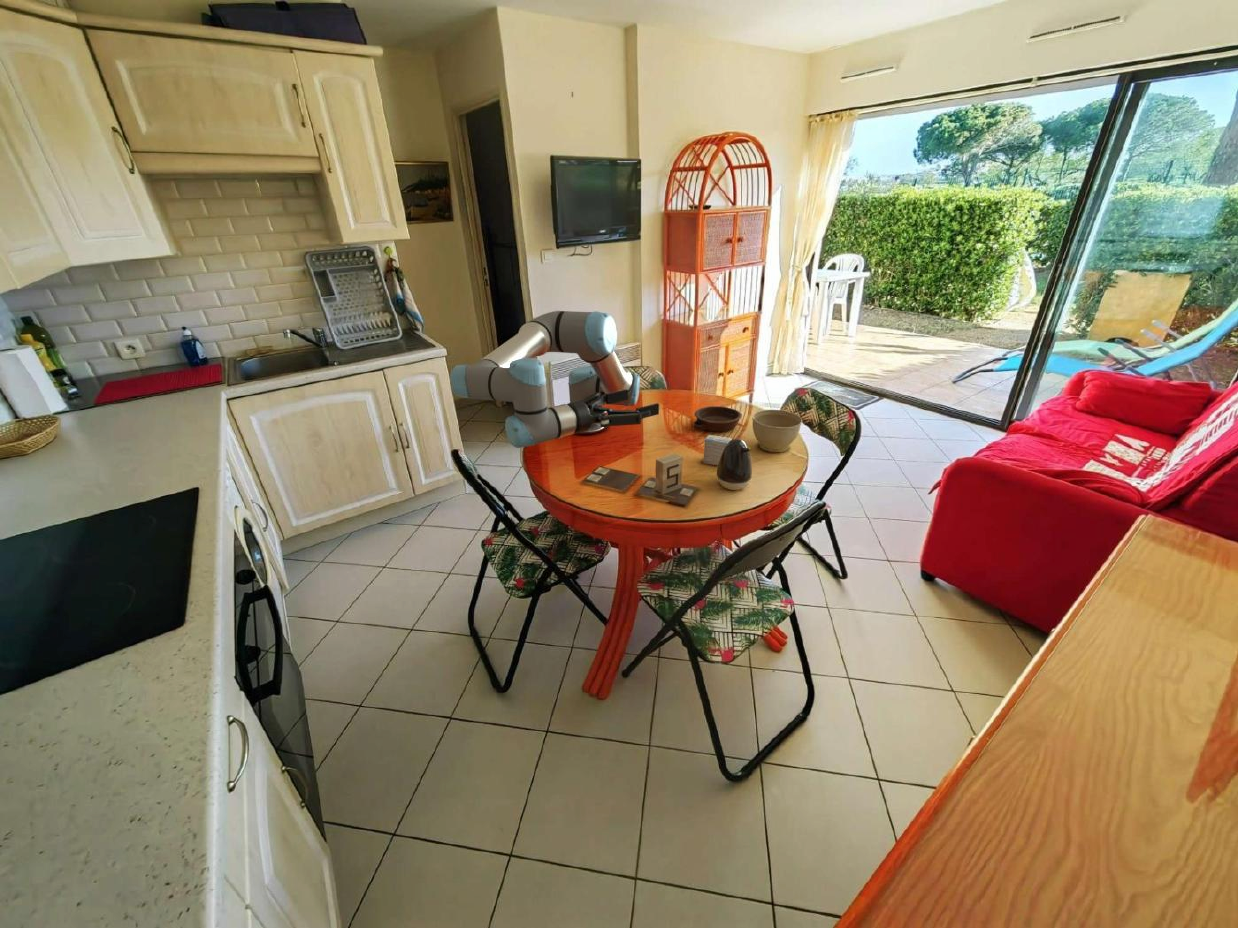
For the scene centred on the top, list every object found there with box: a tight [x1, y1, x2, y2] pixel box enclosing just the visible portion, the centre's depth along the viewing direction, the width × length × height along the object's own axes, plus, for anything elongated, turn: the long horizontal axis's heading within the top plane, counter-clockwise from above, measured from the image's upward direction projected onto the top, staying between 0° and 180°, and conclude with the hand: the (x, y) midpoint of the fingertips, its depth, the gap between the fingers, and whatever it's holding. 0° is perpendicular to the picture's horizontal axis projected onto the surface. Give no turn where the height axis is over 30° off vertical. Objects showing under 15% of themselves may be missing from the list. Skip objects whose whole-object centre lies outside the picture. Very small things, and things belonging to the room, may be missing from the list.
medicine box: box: [702, 434, 733, 466], centre depth 165 cm, size 8×4×9 cm, turn 65°
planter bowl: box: [751, 409, 803, 453], centre depth 174 cm, size 16×16×11 cm
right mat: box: [636, 476, 698, 508], centre depth 149 cm, size 15×11×1 cm
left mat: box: [582, 466, 640, 492], centre depth 157 cm, size 14×11×1 cm
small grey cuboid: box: [655, 453, 683, 494], centre depth 148 cm, size 4×7×10 cm, turn 124°
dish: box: [692, 405, 743, 433], centre depth 194 cm, size 18×22×5 cm
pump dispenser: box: [716, 438, 753, 491], centre depth 149 cm, size 10×10×15 cm
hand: (642, 401), depth 132 cm, fingers open, 13 cm apart
